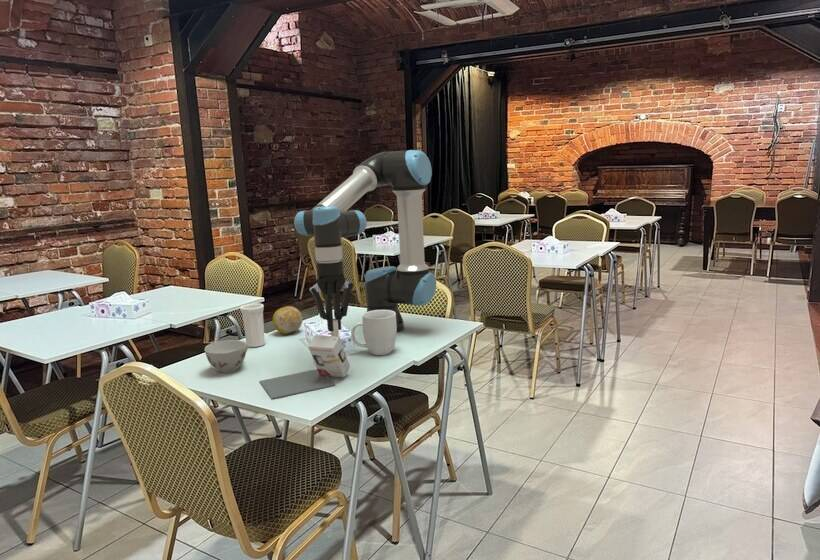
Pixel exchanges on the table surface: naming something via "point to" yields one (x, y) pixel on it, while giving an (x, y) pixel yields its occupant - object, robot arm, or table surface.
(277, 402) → the table surface
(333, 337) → the ink box
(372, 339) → the mug
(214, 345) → the teacup
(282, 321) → the fruit
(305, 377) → the mat
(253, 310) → the cup
